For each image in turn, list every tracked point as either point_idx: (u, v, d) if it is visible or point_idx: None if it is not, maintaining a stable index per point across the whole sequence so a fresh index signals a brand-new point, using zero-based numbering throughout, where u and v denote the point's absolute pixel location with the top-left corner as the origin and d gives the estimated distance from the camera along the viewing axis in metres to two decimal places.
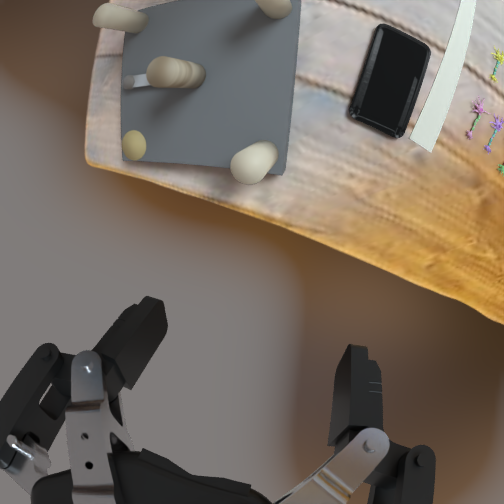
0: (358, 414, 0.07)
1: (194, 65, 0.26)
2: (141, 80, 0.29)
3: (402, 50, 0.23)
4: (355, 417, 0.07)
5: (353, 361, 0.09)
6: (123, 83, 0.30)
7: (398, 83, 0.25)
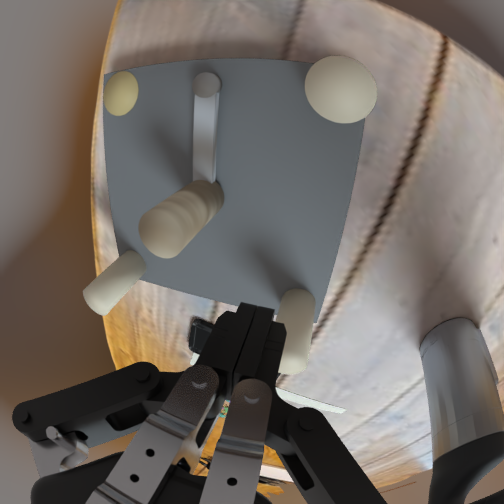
0: (246, 365, 0.08)
1: None
2: (203, 112, 0.20)
3: None
4: (242, 367, 0.08)
5: (255, 319, 0.10)
6: (204, 74, 0.18)
7: None
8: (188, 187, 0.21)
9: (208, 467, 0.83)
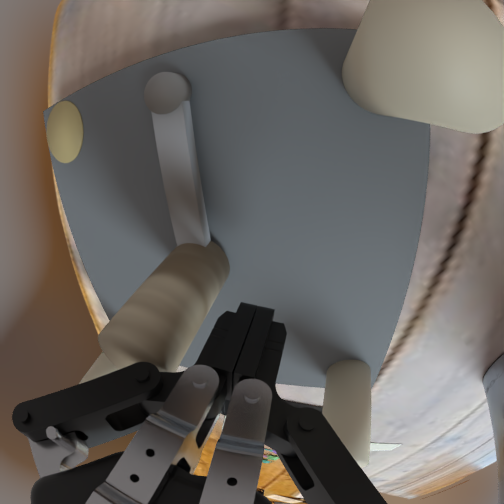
0: (246, 365, 0.08)
1: None
2: (170, 138, 0.12)
3: None
4: (242, 367, 0.08)
5: (255, 319, 0.10)
6: (158, 76, 0.10)
7: None
8: (168, 264, 0.13)
9: None
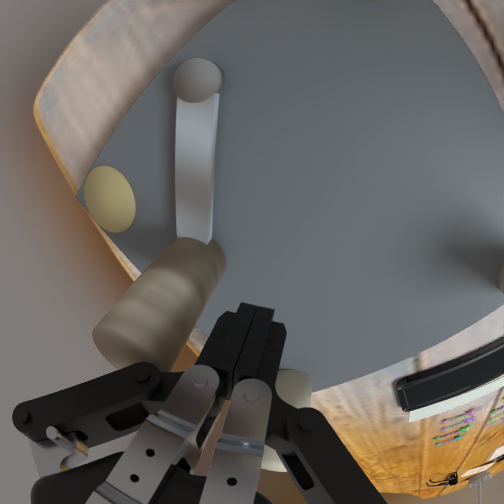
0: (246, 365, 0.08)
1: None
2: (192, 129, 0.12)
3: (492, 365, 0.19)
4: (242, 367, 0.08)
5: (255, 319, 0.10)
6: (193, 61, 0.10)
7: (457, 384, 0.21)
8: (169, 258, 0.13)
9: (451, 483, 0.45)
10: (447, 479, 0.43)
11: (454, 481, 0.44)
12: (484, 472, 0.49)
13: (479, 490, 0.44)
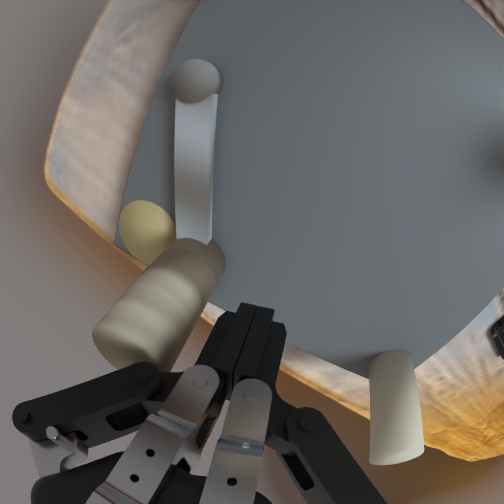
0: (246, 365, 0.08)
1: None
2: (191, 129, 0.12)
3: None
4: (242, 367, 0.08)
5: (255, 319, 0.10)
6: (192, 61, 0.10)
7: None
8: (169, 259, 0.13)
9: None
10: None
11: None
12: None
13: None
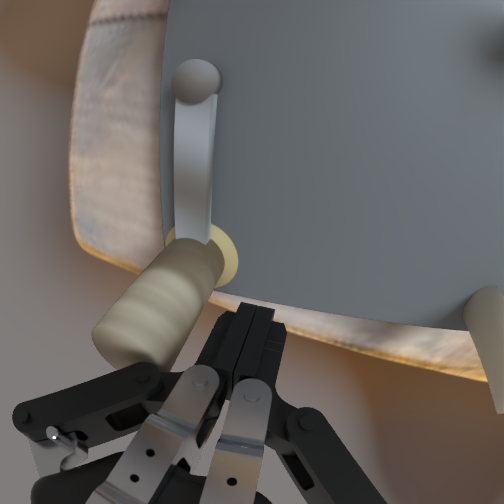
0: (246, 365, 0.08)
1: None
2: (190, 129, 0.12)
3: None
4: (242, 367, 0.08)
5: (255, 319, 0.10)
6: (192, 62, 0.10)
7: None
8: (168, 259, 0.13)
9: None
10: None
11: None
12: None
13: None
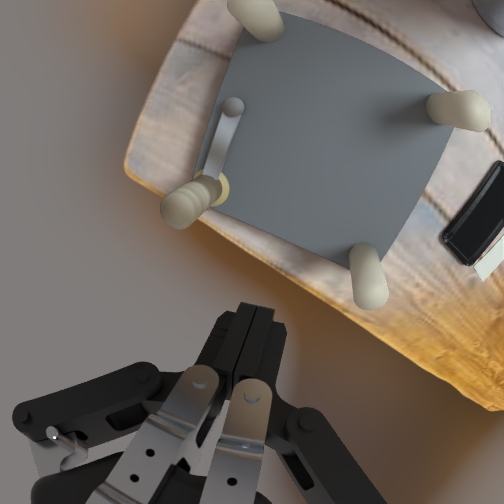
0: (246, 365, 0.08)
1: None
2: (225, 127, 0.26)
3: None
4: (242, 367, 0.08)
5: (255, 319, 0.10)
6: (234, 98, 0.25)
7: (489, 221, 0.26)
8: (200, 180, 0.28)
9: None
10: None
11: None
12: None
13: None
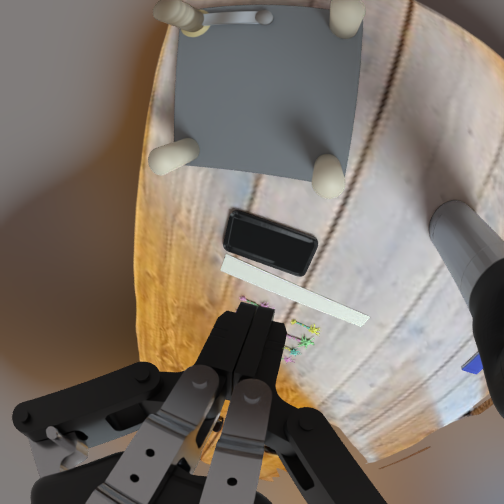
0: (246, 365, 0.08)
1: None
2: (245, 16, 0.25)
3: (295, 255, 0.45)
4: (242, 367, 0.08)
5: (255, 319, 0.10)
6: (271, 16, 0.24)
7: (265, 248, 0.46)
8: (197, 14, 0.24)
9: (214, 429, 0.89)
10: None
11: (218, 428, 0.88)
12: None
13: None
